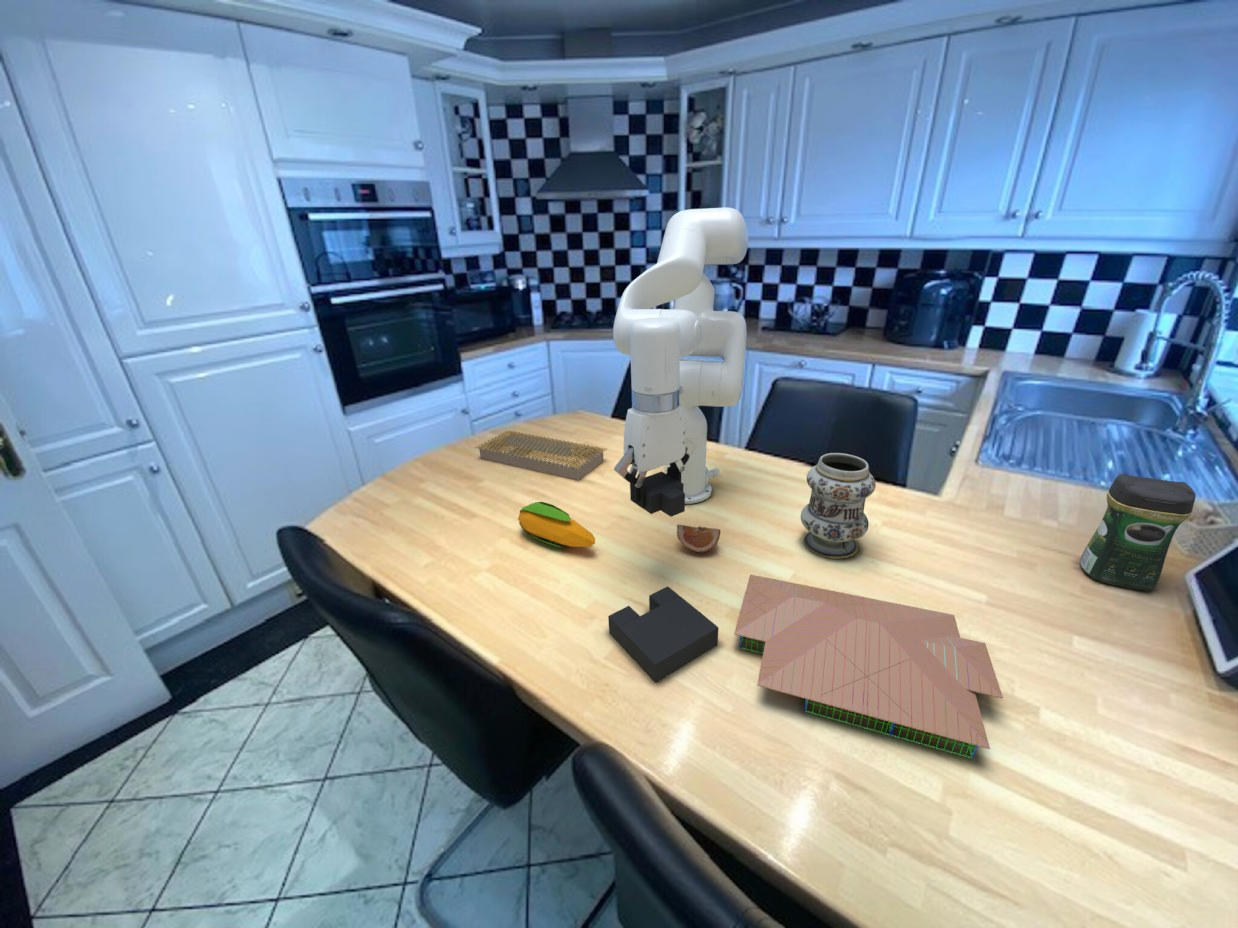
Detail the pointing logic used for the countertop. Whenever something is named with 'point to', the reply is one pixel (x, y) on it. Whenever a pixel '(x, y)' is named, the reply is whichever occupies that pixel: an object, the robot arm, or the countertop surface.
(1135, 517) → the coffee jar
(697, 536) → the fruit slice
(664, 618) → the notch pad
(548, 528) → the corn
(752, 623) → the house
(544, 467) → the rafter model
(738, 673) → the countertop surface
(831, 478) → the apothecary jar
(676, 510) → the tab pad
